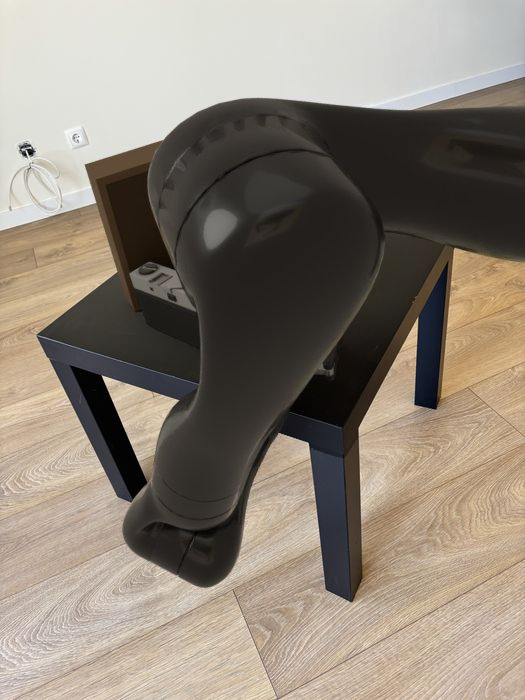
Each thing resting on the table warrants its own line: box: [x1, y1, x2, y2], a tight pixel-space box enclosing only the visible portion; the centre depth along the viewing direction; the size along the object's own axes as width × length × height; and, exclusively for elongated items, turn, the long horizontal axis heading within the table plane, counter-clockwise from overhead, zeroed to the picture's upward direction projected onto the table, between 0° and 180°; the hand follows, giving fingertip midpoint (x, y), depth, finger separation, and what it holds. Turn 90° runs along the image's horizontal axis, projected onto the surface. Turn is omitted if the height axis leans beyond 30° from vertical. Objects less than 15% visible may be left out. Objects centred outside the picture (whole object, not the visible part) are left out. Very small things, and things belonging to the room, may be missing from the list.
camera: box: [130, 262, 200, 349], centre depth 79 cm, size 14×8×10 cm, turn 50°
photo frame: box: [84, 139, 175, 313], centre depth 81 cm, size 15×22×25 cm
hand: (304, 315), depth 70 cm, fingers closed on mug, 6 cm apart
